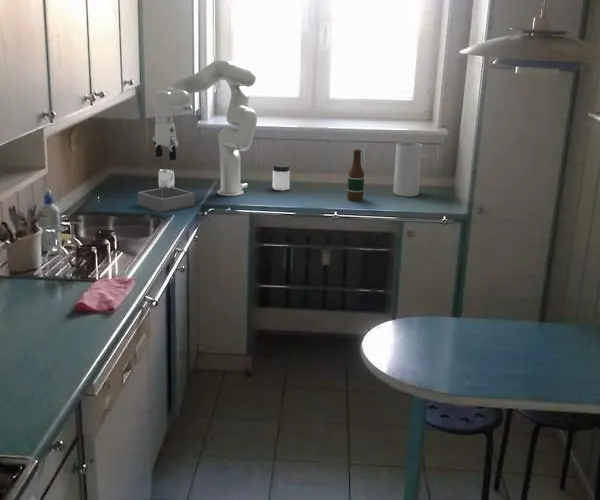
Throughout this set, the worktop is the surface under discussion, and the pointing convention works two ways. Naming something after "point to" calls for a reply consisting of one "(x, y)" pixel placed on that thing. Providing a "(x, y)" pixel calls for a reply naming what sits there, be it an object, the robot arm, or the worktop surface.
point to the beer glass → (166, 183)
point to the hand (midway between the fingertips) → (166, 158)
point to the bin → (166, 200)
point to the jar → (281, 177)
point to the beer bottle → (355, 178)
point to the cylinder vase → (407, 169)
